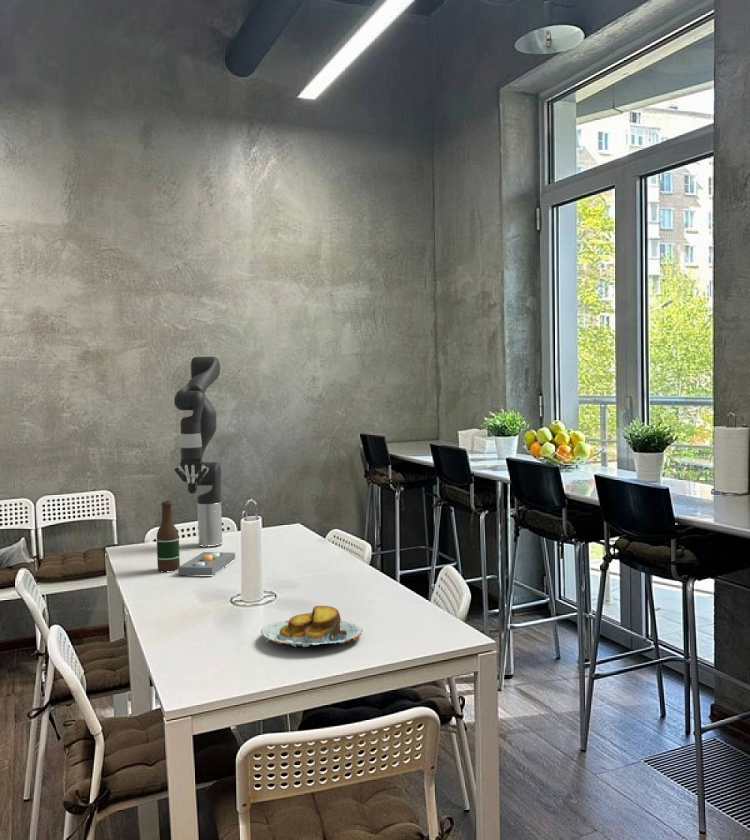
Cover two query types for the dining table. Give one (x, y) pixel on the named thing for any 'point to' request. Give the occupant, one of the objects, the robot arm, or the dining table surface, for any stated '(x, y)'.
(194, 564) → the blue button
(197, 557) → the button panel
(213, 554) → the sage button
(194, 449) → the robot arm
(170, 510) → the beer bottle
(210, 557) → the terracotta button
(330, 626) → the food on plate
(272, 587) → the dining table surface
